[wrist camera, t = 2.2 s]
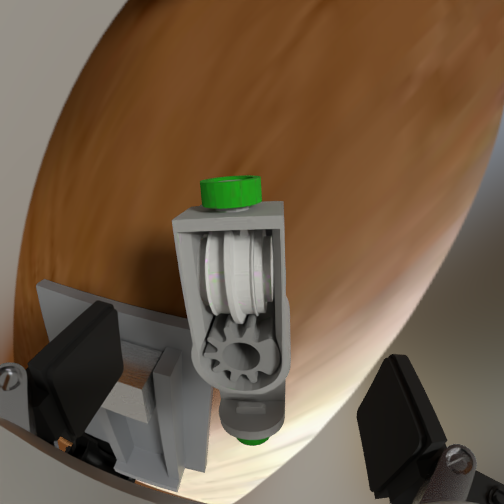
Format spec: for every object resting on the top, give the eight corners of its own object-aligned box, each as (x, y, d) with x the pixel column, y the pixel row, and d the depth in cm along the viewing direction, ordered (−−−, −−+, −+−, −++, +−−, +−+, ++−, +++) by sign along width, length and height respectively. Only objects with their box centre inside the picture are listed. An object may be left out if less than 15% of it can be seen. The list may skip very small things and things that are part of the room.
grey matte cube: (110, 336, 20) (84, 368, 16) (162, 351, 19) (141, 389, 16) (116, 372, 21) (96, 404, 17) (164, 387, 21) (147, 423, 17)
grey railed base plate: (44, 278, 20) (5, 306, 16) (219, 325, 20) (202, 376, 15) (89, 426, 28) (72, 453, 23) (206, 464, 27) (198, 499, 23)
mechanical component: (243, 321, 19) (215, 447, 10) (231, 164, 16) (162, 188, 7) (287, 321, 19) (287, 450, 10) (284, 161, 16) (288, 180, 6)
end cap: (80, 439, 31) (62, 470, 25) (79, 421, 28) (57, 456, 22) (138, 470, 31) (125, 504, 25) (145, 456, 29) (130, 495, 23)
